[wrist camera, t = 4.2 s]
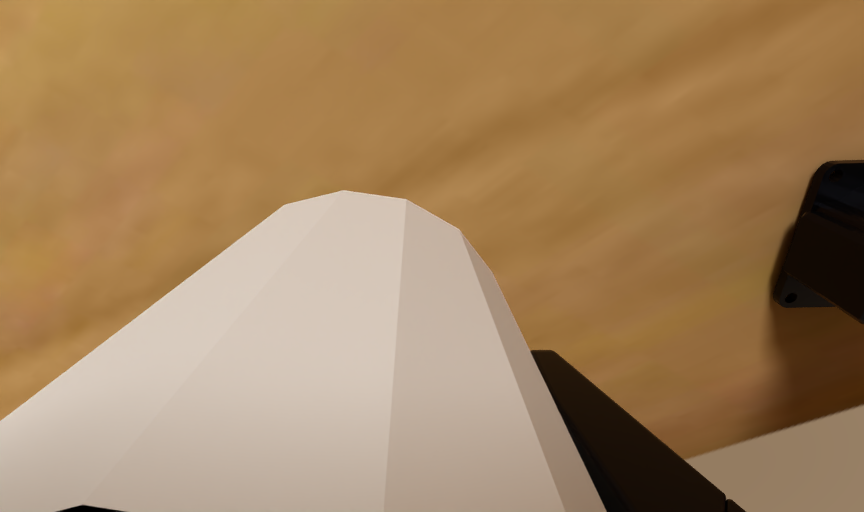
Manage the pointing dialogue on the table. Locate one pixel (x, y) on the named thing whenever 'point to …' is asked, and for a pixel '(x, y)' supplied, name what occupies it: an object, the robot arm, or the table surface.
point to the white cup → (307, 385)
